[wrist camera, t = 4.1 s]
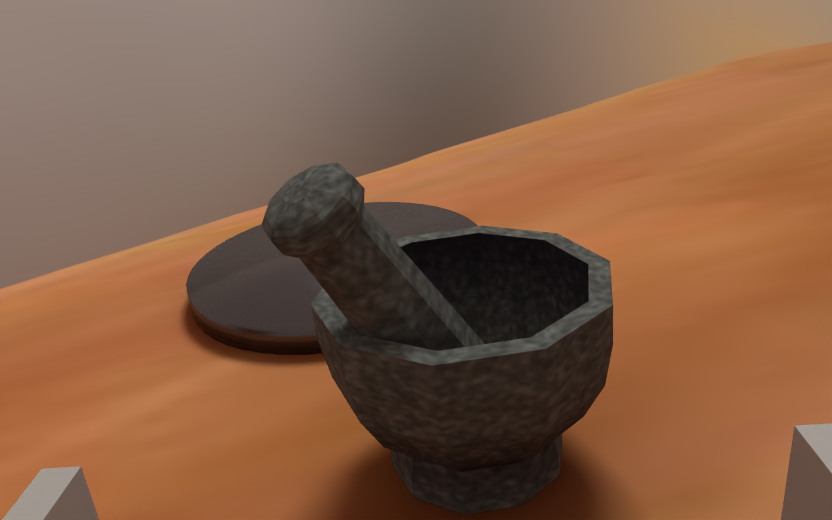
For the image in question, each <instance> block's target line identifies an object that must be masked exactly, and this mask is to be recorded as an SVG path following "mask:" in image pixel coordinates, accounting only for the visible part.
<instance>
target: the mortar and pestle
mask: <svg viewBox="0 0 832 520" xmlns="http://www.w3.org/2000/svg"><path fill="white" fill-rule="evenodd" d="M262 227H263V229H264V231H265V232H266V234H267V236H268V237H269V239H270V240H271V242H272V243H273V244H274V245H275V247H276V248H277V249H278V250H279V251H280V252H281V253H282V254H283V255H286V256H291V257H296V258H300V260H301V261H302V262H303V263H304V265H305V266H306V267H307V269H308V270H309V271H310V272H311V274H312V275H313V276H314V277H315V279H316V280H317V281H318V282H319V284H320V285H321V286H322V289H321V291H320V292H319V293H318V295H317V296H316V297H315V299H314V300H313V301H312V303H311V308H312V313H313V318H314V324H315V329H316V334H317V339H318V342H319V344H320V347H321V349H322V352H323V355H324V357H325V360H326V362H327V365H328V367H329V370H330V373H331V375H332V378H333V379H334V381H335V382H336V384H337V386H338V387H339V389H340V390H341V392H342V394H343V395H344V397H345V399H346V400H347V402H348V403H349V405H350V407H351V408H352V410H353V412H354V413H355V415H356V416H357V418H358V420H359V421H360V423H361V424H362V425H363V426H364V427H365V428H366V429H367V430H368V431H369V432H370V433H371V434H372V435H373V436H374V437H375V438H376V439H377V441H378V442H379V443H380V444H381V445H382V446H383V447H385V448H388V449H391V453H392V464H393V466H394V467H395V469H396V471H397V472H398V474H399V475H400V477H401V478H402V480H403V482H404V483H405V485H406V486H407V488H408V490H409V491H410V493H411V494H412V496H413V497H414V498H417V499H420V500H422V501H425V502H428V503H431V504H434V505H437V506H440V507H443V508H446V509H449V510H452V511H455V512H458V513H461V514H464V515H466V514H472V513H478V512H485V511H491V510H497V509H504V508H510V507H516V506H523V505H524V504H525V503H527V502H528V501H529V500H530V499H531V498H533V497H534V496H535V495H536V494H537V493H539V492H540V491H541V490H542V489H543V488H545V487H546V486H547V485H548V484H549V483H551V482H552V481H553V480H554V479H555V478H557V477H558V476H559V475H560V467H561V446H562V433H563V432H564V431H566V430H567V429H568V428H570V427H571V426H572V425H573V424H575V423H576V422H577V421H579V420H580V419H581V418H582V417H584V415H585V414H586V412H587V411H588V409H589V408H590V406H591V405H592V404H593V402H594V401H595V399H596V398H597V396H598V395H599V393H600V392H601V390H602V389H603V388H604V386H605V383H606V377H607V372H608V367H609V362H610V357H611V351H612V346H613V299H612V285H611V271H610V261H609V260H607V259H605V258H603V257H601V256H599V255H597V254H595V253H593V252H592V251H590V250H588V249H586V248H584V247H582V246H580V245H578V244H576V243H574V242H572V241H570V240H569V239H567V238H565V237H563V236H561V235H559V234H557V233H547V232H538V231H528V230H518V229H508V228H499V227H489V226H476V227H469V228H462V229H455V230H448V231H441V232H434V233H426V234H419V235H412V236H405V237H402V238H400V239H397V240H395V241H394V240H393V238H392V237H391V236H390V235H389V234H388V233H387V232H386V231H385V229H384V228H383V227H382V226H381V225H380V224H379V223H378V221H377V220H376V219H375V218H374V217H373V216H372V215H371V213H370V212H369V211H368V210H367V209H366V208H365V207H364V188H363V186H362V185H361V184H360V183H359V182H358V181H357V180H356V179H355V178H354V177H353V176H352V175H351V174H350V173H349V172H348V171H347V170H346V169H345V168H344V167H343V166H342V165H340V164H338V163H331V164H323V165H315V166H312V167H309V168H308V169H306V170H304V171H303V172H301V173H299V174H298V175H296V176H294V177H292V178H291V179H289V180H288V181H287V182H286V183H285V184H284V185H283V186H282V188H281V189H280V190H279V191H278V192H277V193H276V194H275V195H274V196H273V197H272V199H271V200H270V202H269V204H268V207H267V210H266V213H265V216H264V219H263V222H262Z"/></svg>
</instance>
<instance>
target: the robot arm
mask: <svg viewBox="0 0 832 520" xmlns="http://www.w3.org/2000/svg"><path fill="white" fill-rule="evenodd" d="M2 520H99V518H98V515H97V512H96V509H95V506H94V503H93V500H92V497H91V494H90V491H89V488H88V486H87V483H86V480H85V477H84V474H83V471H82V468H81V467H63V468H46V469H41V470H40V472H39V473H38V474H37V476H36V477H35V478H34V479H33V481H32V482H31V483H30V485H29V486H28V487H27V488H26V490H25V491H24V492H23V494H22V495H21V496H20V497H19V499H18V500H17V501H16V503H15V504H14V505H13V506H12V508H11V509H10V510H9V511H8V513H7V514H6V515H5V517H4V518H3V519H2ZM781 520H832V423H831V424H814V425H796V426H794V433H793V440H792V447H791V454H790V461H789V468H788V475H787V481H786V488H785V495H784V502H783V509H782V516H781Z"/></svg>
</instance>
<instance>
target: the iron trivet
mask: <svg viewBox="0 0 832 520" xmlns="http://www.w3.org/2000/svg"><path fill="white" fill-rule="evenodd" d="M364 207H365V208H366V209H367V210H368V211H369V212H370V213H371V215H372V216H373V217H374V218H375V219H376V220H377V221H378V223H379V224H380V225H381V226H382V227H383V228H384V229H385V231H386V232H387V233H388V234H389V235H390V236H391V237H392V238H393V240H394V241H395V240H397V239H400V238H402V237H405V236H412V235H419V234H426V233H434V232H441V231H448V230H455V229H462V228H469V227H476V226H477V225H476V224H475V223H474V222H473V221H471V220H470V219H468V218H467V217H465V216H463V215H461V214H459V213H456V212H453V211H450V210H447V209H443V208H439V207H435V206H429V205H424V204H415V203H401V202H373V203H364ZM186 287H187V294H188V297H189V301H190V305H191V308H192V312H193V316H194V318H195V320H196V322H197V324H198V326H199V327H200V328H201V329H202V330H203V331H204V332H205V333H206V334H208V335H209V336H211V337H212V338H214V339H216V340H218V341H220V342H222V343H225V344H227V345H230V346H234V347H237V348H241V349H245V350H251V351H256V352H263V353H276V354H310V353H323V352H322V349H321V347H320V344H319V342H318V339H317V334H316V329H315V324H314V318H313V313H312V308H311V303H312V301H313V300H314V299H315V297H316V296H317V295H318V293H319V292H320V291H321V289H322V286H321V285H320V284H319V282H318V281H317V280H316V279H315V277H314V276H313V275H312V274H311V272H310V271H309V270H308V269H307V267H306V266H305V265H304V263H303V262H302V261H301V260H300V258H296V257H291V256H286V255H283V254H282V253H281V252H280V251H279V250H278V249H277V248H276V247H275V245H274V244H273V243H272V242H271V240H270V239H269V237H268V236H267V234H266V232H265V231H264V229H263V227H262V224H261V225H259V226H256V227H253V228H251V229H249V230H246V231H244V232H242V233H240V234H238V235H236V236H234V237H232V238H230V239H228V240H226V241H225V242H223V243H221V244H220V245H218V246H216V247H215V248H214V249H212V250H211V251H209V252H208V253H207V254H206V255H205V256H203V257H202V258H201V259H200V260H199V261H198V262H197V263H196V265H195V266H194V267H193V268H192V270H191V272H190V274H189V276H188V279H187V284H186Z"/></svg>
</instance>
